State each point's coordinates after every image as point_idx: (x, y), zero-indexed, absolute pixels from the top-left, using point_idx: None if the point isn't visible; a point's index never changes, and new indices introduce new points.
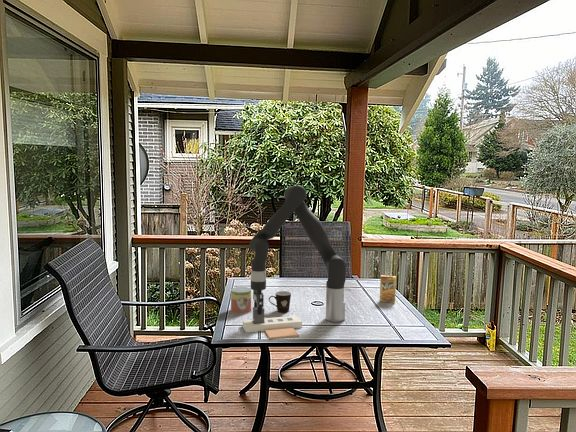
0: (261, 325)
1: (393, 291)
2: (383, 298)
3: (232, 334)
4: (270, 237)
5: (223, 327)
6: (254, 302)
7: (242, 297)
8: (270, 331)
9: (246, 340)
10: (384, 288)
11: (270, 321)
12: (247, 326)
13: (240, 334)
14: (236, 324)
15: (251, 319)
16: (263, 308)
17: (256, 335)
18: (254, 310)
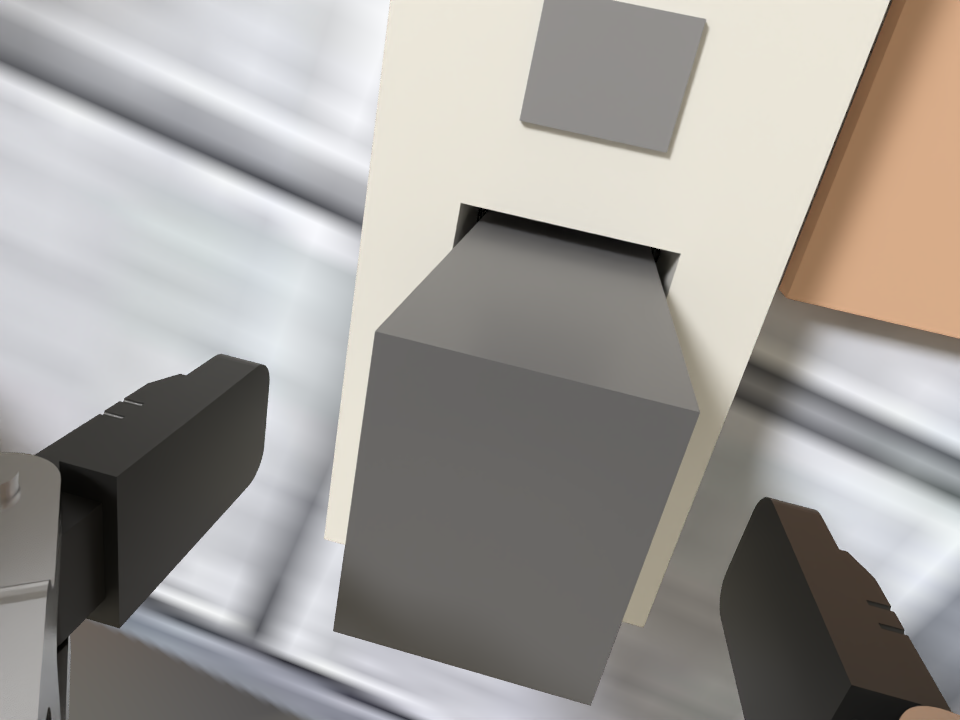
0: (740, 373)
1: None
2: None
3: (611, 710)
4: None
5: (323, 687)
6: (132, 613)
7: None
8: (943, 238)
9: (940, 677)
10: None
11: (661, 96)
12: (652, 603)
13: (669, 641)
14: (269, 524)
15: (347, 406)
16: (614, 410)
17: (855, 486)
18: (592, 681)
